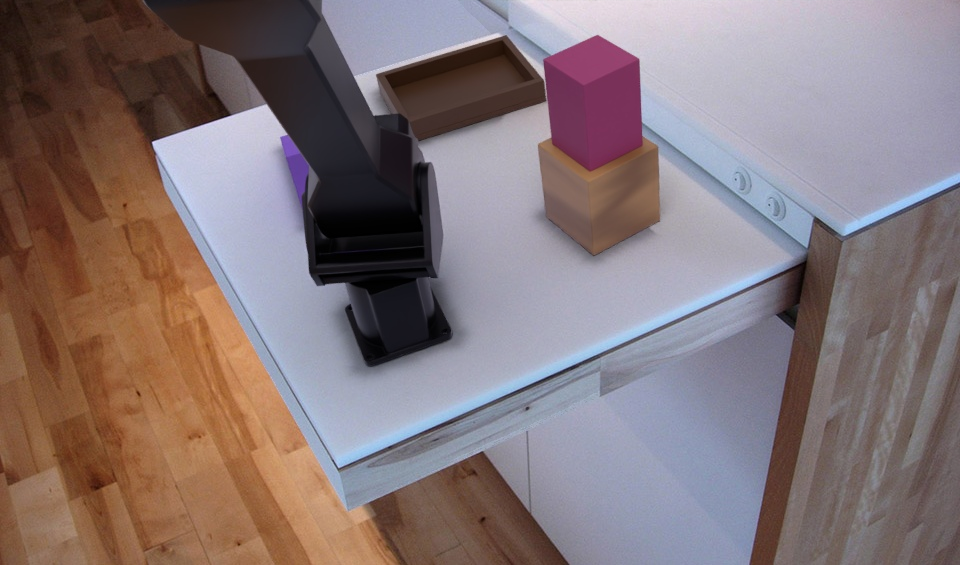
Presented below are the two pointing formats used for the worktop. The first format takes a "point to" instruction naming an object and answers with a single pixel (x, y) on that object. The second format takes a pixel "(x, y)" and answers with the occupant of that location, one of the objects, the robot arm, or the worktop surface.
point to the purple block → (295, 165)
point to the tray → (462, 87)
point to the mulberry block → (594, 101)
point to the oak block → (601, 195)
